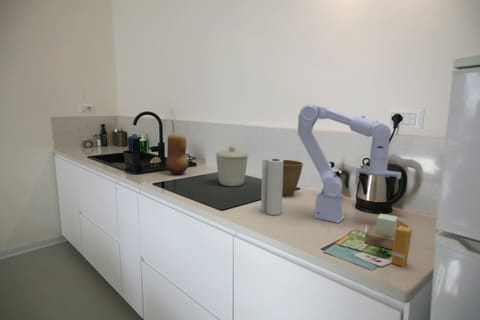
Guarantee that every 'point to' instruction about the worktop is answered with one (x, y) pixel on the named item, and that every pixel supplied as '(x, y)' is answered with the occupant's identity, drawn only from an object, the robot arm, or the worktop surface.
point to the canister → (231, 166)
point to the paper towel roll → (272, 186)
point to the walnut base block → (378, 238)
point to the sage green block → (386, 225)
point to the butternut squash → (176, 154)
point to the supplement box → (401, 246)
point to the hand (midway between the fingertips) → (376, 195)
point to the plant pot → (290, 176)
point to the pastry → (401, 224)
